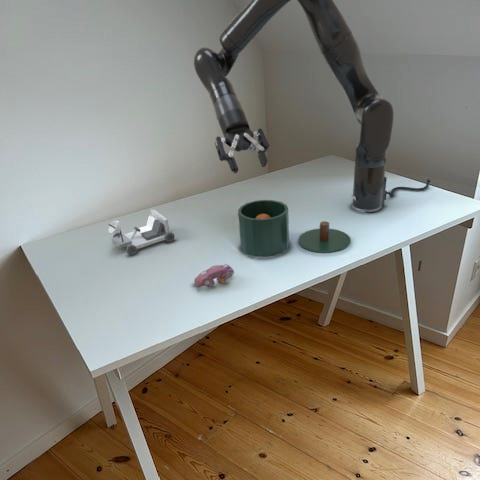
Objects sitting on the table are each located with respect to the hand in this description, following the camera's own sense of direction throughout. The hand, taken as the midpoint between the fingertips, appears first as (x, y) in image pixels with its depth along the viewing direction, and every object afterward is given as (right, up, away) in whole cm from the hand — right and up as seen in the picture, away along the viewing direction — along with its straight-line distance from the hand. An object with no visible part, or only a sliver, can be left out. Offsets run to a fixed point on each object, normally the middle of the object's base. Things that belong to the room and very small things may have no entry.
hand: (250, 168), depth 132 cm
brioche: (+4, -20, +7) cm, 21 cm away
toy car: (-33, -18, +15) cm, 41 cm away
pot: (+4, -20, +7) cm, 22 cm away
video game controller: (-9, -32, -7) cm, 34 cm away
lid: (+21, -19, +6) cm, 29 cm away
